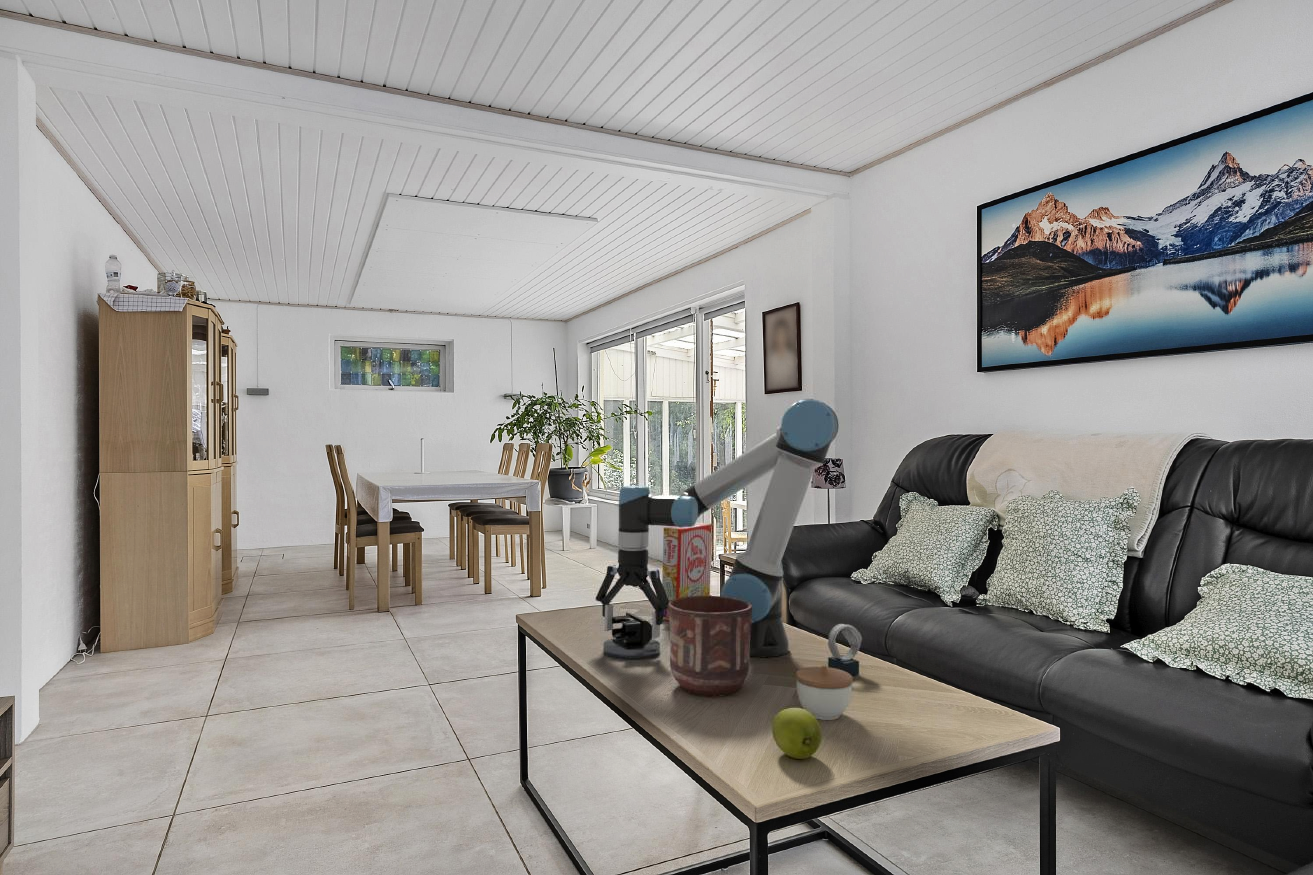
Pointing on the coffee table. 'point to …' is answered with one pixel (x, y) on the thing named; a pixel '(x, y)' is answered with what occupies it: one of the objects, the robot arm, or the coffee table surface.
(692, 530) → the popcorn box
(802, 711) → the green lime
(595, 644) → the coffee table surface
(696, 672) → the pottery
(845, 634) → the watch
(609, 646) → the plate
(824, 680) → the lidded jar
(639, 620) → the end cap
